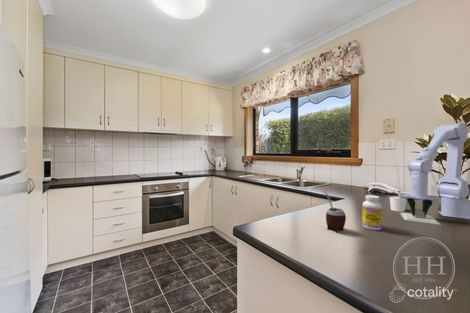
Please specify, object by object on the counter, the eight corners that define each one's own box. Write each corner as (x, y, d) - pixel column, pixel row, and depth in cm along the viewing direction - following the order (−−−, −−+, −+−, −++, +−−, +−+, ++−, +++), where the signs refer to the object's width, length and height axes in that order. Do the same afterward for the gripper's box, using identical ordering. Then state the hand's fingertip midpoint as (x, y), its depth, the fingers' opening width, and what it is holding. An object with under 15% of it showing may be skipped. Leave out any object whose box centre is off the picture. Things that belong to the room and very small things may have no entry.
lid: (429, 217, 96) (430, 209, 96) (437, 223, 87) (437, 215, 87) (402, 213, 101) (402, 206, 101) (406, 219, 92) (406, 211, 92)
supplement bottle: (362, 228, 83) (363, 197, 82) (361, 223, 89) (361, 194, 88) (383, 231, 80) (383, 198, 79) (380, 226, 85) (380, 195, 85)
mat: (432, 217, 96) (432, 216, 96) (441, 225, 86) (441, 224, 86) (399, 213, 102) (399, 212, 102) (404, 220, 92) (404, 219, 92)
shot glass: (409, 213, 104) (409, 199, 104) (395, 212, 104) (396, 199, 104) (399, 209, 111) (399, 196, 111) (386, 209, 111) (386, 196, 111)
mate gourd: (348, 233, 78) (348, 194, 77) (325, 232, 79) (326, 193, 79) (342, 226, 85) (342, 190, 85) (321, 225, 87) (322, 189, 86)
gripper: (400, 186, 94) (400, 215, 94) (444, 189, 87) (443, 221, 87) (397, 184, 100) (397, 211, 100) (438, 186, 93) (438, 216, 93)
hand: (418, 215), depth 94 cm, fingers closed on lid, 3 cm apart
